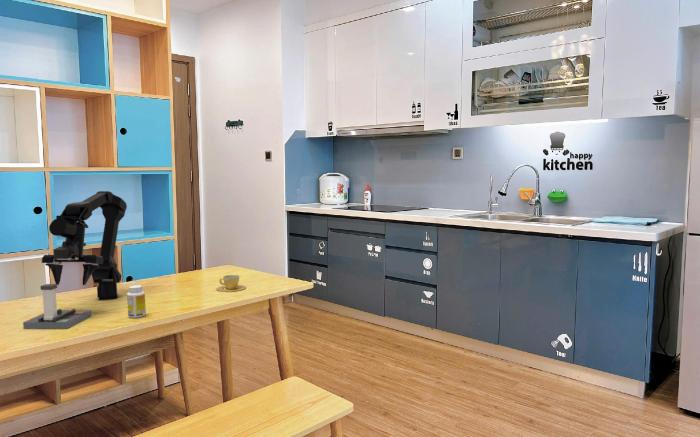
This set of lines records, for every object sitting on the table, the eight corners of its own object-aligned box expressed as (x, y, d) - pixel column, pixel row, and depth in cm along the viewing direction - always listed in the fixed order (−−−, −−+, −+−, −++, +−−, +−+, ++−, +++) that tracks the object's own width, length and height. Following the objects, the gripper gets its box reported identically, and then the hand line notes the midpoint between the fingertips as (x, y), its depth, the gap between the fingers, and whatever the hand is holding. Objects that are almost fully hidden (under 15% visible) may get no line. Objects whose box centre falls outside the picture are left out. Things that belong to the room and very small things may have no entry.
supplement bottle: (147, 313, 176) (146, 284, 175) (143, 318, 171) (141, 288, 170) (131, 314, 176) (129, 284, 175) (125, 318, 170) (124, 288, 169)
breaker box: (51, 315, 174) (50, 307, 174) (91, 316, 173) (91, 307, 173) (23, 328, 160) (22, 319, 160) (67, 328, 159) (66, 319, 159)
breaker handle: (48, 317, 164) (46, 284, 163) (59, 317, 164) (57, 284, 163) (42, 320, 161) (40, 286, 160) (53, 320, 161) (51, 286, 160)
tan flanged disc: (249, 286, 218) (249, 273, 217) (241, 292, 206) (240, 279, 205) (222, 285, 219) (221, 273, 218) (212, 292, 207) (211, 279, 207)
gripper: (33, 236, 169) (28, 284, 166) (88, 236, 168) (84, 284, 166) (53, 240, 180) (49, 285, 177) (105, 240, 179) (102, 285, 177)
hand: (70, 285), depth 174 cm, fingers open, 9 cm apart
